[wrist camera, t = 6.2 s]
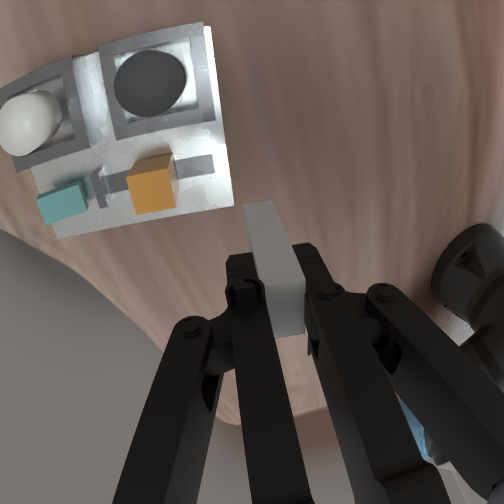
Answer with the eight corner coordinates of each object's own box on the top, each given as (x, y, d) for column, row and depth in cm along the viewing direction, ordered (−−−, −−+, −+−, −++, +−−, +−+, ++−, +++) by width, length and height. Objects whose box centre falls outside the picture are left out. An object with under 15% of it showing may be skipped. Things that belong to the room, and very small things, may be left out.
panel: (230, 187, 30) (237, 222, 24) (70, 219, 29) (46, 257, 23) (209, 31, 22) (210, 20, 16) (32, 82, 21) (-9, 93, 15)
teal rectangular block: (88, 205, 24) (87, 211, 23) (48, 219, 23) (46, 225, 22) (80, 179, 23) (78, 184, 22) (39, 194, 22) (36, 199, 21)
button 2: (190, 103, 19) (188, 109, 16) (131, 115, 19) (120, 124, 16) (182, 46, 16) (178, 43, 14) (121, 60, 16) (108, 60, 14)
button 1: (67, 134, 18) (49, 146, 16) (24, 149, 18) (4, 163, 16) (55, 82, 16) (35, 87, 14) (12, 101, 16) (-10, 109, 13)
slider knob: (179, 188, 25) (176, 207, 22) (143, 195, 25) (136, 215, 22) (172, 153, 23) (167, 168, 20) (135, 161, 23) (125, 177, 20)
